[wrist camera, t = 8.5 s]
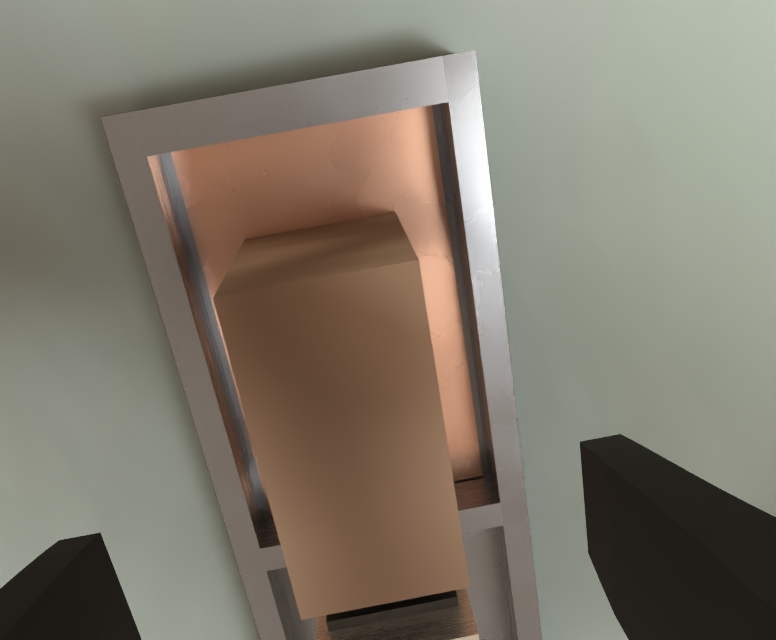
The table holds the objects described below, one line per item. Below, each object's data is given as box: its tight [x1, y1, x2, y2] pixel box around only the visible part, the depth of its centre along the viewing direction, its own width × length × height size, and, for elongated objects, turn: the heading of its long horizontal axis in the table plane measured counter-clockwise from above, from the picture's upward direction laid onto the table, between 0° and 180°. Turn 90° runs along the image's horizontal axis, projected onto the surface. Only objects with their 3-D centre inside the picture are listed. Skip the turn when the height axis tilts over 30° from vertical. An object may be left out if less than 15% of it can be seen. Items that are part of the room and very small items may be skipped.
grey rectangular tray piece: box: [101, 50, 542, 640], centre depth 18 cm, size 8×22×6 cm, turn 10°
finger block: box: [213, 212, 470, 620], centre depth 17 cm, size 4×8×5 cm, turn 10°
